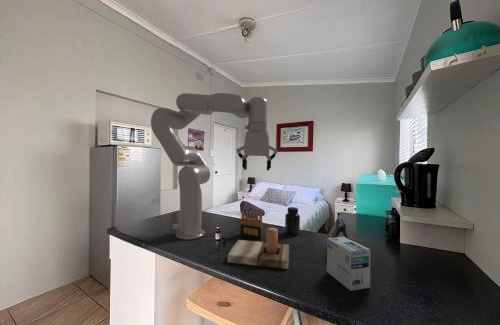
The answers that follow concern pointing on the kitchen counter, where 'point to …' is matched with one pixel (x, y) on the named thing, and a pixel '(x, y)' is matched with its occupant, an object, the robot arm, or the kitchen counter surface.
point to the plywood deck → (258, 254)
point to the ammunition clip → (251, 225)
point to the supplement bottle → (292, 222)
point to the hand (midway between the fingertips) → (256, 169)
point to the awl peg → (272, 241)
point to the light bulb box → (348, 263)
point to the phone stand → (339, 229)
